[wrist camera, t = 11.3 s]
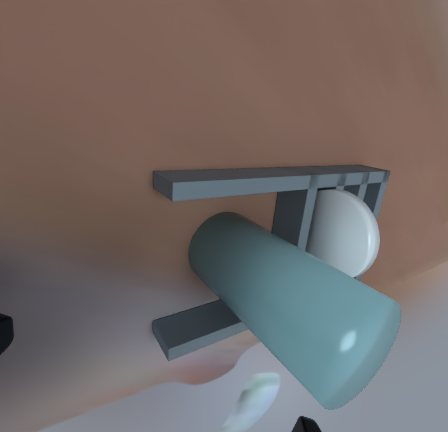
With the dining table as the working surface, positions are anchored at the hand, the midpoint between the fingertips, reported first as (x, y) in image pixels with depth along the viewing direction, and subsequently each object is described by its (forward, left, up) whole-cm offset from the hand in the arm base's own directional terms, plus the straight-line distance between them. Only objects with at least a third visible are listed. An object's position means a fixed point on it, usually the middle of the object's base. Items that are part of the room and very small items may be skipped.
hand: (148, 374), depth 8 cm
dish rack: (+3, -14, -10) cm, 18 cm away
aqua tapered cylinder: (+2, -9, -10) cm, 14 cm away
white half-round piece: (+6, -15, -10) cm, 19 cm away
